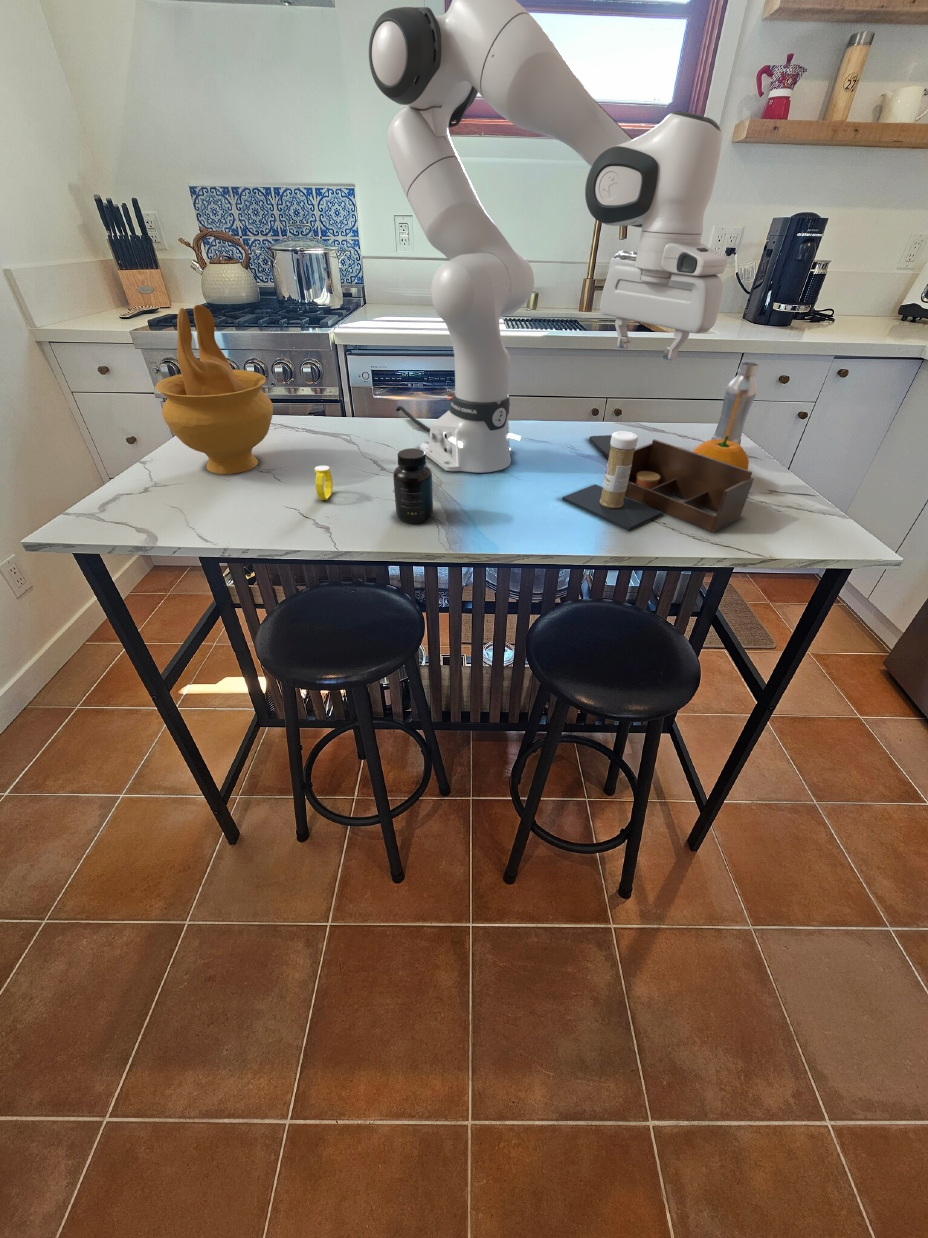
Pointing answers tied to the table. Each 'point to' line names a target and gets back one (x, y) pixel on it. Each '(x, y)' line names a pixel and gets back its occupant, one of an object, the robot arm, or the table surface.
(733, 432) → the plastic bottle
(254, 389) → the decorative bowl
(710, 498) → the spice rack
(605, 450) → the phone
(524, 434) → the table surface
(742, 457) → the fruit
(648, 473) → the spice tin
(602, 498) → the sprinkles bottle
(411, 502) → the supplement bottle
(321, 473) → the watch
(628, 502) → the rubber mat
